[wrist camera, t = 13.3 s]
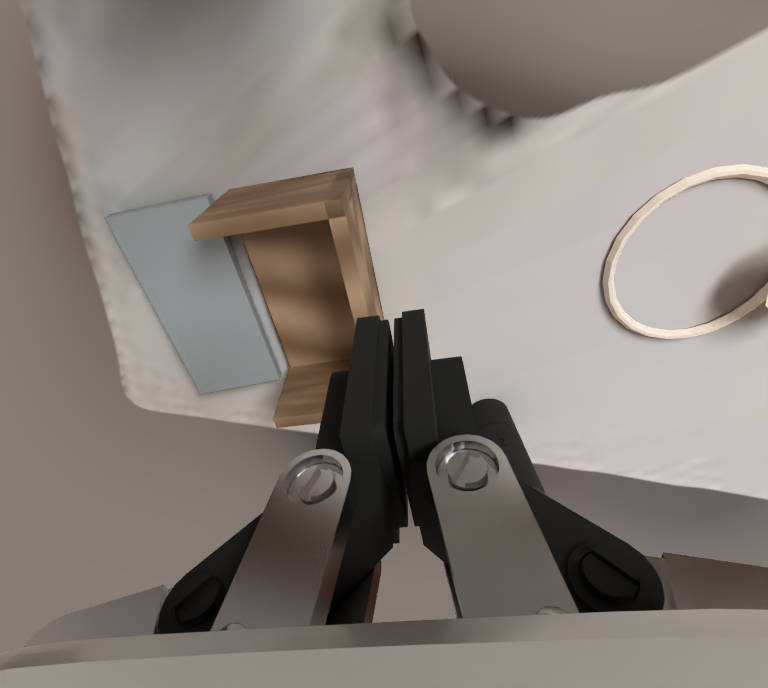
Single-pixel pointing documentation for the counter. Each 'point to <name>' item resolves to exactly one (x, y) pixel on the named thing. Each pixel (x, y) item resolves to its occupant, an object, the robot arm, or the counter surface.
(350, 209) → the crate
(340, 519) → the robot arm
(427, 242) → the counter surface
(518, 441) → the drinking cup
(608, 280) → the hand towel holder
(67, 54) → the counter surface
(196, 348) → the panel
